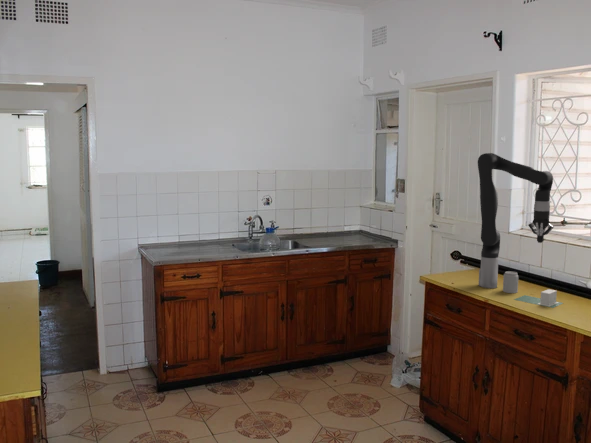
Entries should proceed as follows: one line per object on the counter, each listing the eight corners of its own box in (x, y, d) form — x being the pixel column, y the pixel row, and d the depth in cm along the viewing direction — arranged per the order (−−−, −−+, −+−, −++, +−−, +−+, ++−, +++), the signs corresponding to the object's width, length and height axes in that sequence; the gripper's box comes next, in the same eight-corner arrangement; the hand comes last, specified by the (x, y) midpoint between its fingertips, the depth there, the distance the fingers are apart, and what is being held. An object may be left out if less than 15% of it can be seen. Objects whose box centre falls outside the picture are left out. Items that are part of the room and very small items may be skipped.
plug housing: (547, 300, 281) (548, 289, 280) (556, 302, 277) (556, 290, 277) (540, 303, 275) (540, 292, 274) (548, 305, 272) (549, 293, 271)
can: (510, 296, 294) (511, 274, 293) (499, 293, 301) (500, 271, 299) (520, 294, 298) (521, 272, 296) (509, 291, 304) (510, 270, 303)
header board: (513, 302, 284) (513, 293, 283) (524, 297, 292) (524, 289, 291) (552, 310, 269) (553, 301, 268) (563, 305, 277) (564, 297, 276)
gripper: (557, 210, 286) (555, 243, 288) (532, 208, 295) (531, 240, 298) (551, 211, 281) (549, 245, 283) (526, 209, 291) (524, 241, 293)
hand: (540, 242), depth 291 cm, fingers closed
